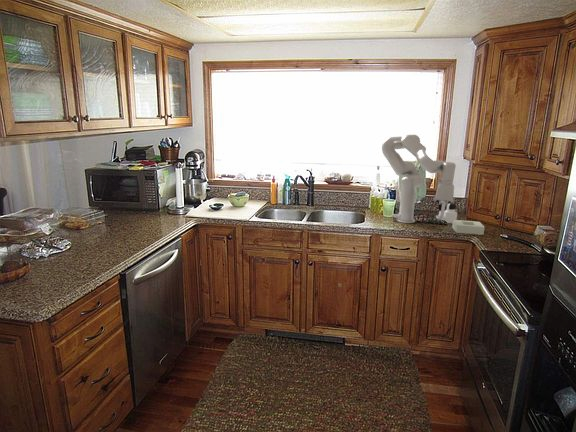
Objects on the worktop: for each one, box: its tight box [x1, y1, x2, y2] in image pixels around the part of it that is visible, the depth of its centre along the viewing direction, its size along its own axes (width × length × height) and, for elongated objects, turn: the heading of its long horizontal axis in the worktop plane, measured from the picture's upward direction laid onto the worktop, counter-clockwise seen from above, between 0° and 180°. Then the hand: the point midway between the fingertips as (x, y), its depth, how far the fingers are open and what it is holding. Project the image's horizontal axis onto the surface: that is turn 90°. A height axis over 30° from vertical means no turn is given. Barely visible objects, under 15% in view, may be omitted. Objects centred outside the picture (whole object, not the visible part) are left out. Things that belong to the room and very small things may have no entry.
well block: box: [451, 219, 486, 236], centre depth 252 cm, size 16×13×5 cm
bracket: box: [435, 200, 446, 221], centre depth 254 cm, size 5×6×11 cm
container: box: [444, 202, 458, 224], centre depth 272 cm, size 8×8×13 cm
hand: (441, 210), depth 254 cm, fingers closed on bracket
